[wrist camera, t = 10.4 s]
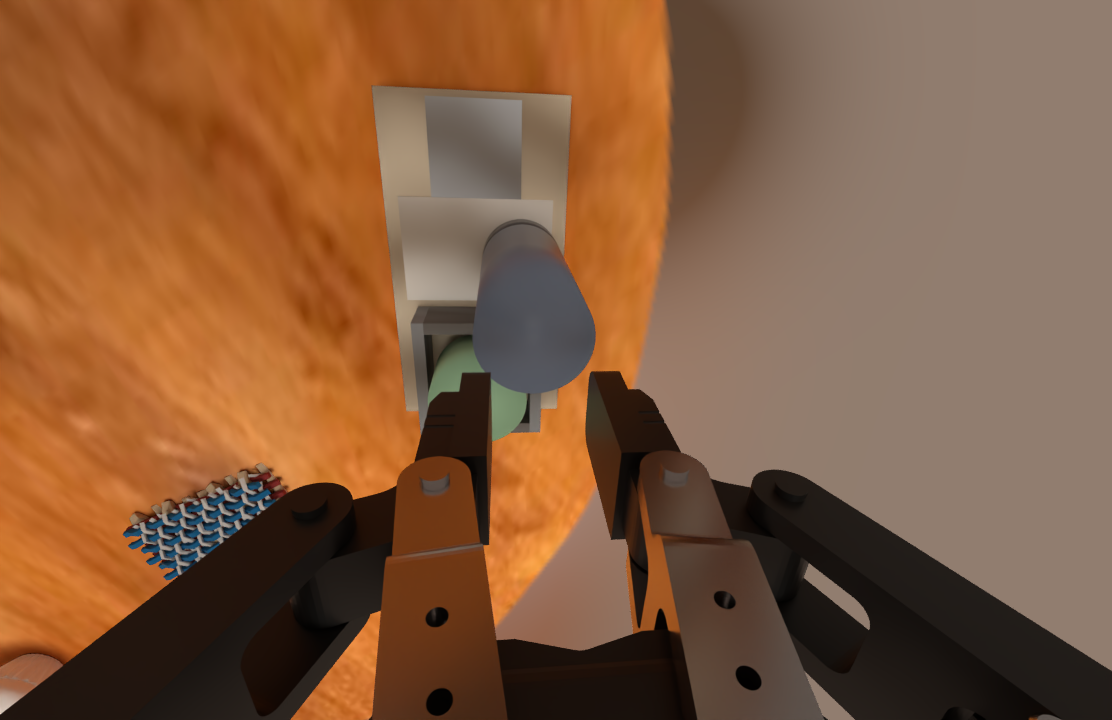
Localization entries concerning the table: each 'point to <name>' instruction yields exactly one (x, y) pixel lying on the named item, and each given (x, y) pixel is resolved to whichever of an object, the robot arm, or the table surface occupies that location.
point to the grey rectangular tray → (462, 207)
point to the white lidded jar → (24, 676)
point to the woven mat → (202, 520)
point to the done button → (504, 401)
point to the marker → (530, 312)
